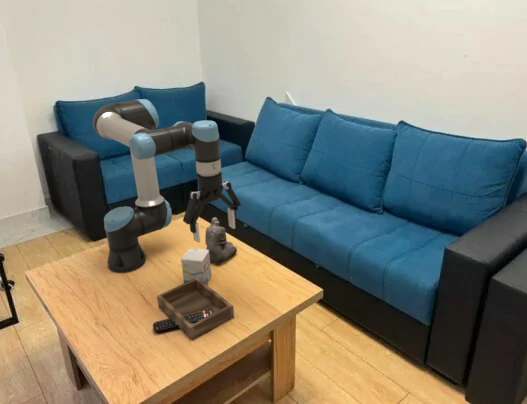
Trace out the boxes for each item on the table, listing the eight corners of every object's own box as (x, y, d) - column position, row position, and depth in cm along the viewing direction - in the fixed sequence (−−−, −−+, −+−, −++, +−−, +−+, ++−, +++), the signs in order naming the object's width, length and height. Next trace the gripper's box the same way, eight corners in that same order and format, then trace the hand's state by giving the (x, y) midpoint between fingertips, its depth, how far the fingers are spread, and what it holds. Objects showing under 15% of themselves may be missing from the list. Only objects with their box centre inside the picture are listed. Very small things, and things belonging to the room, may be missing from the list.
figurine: (235, 249, 186) (232, 211, 179) (240, 263, 176) (237, 223, 169) (204, 253, 184) (200, 215, 176) (208, 268, 173) (204, 228, 166)
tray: (158, 307, 151) (156, 295, 149) (198, 288, 161) (197, 277, 159) (191, 340, 135) (190, 328, 133) (234, 317, 145) (233, 305, 143)
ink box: (205, 288, 161) (202, 261, 156) (183, 286, 163) (180, 259, 158) (212, 275, 169) (209, 249, 164) (191, 273, 170) (188, 247, 166)
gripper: (179, 186, 122) (187, 251, 131) (249, 165, 136) (252, 225, 145) (166, 179, 128) (175, 242, 136) (235, 160, 142) (239, 218, 150)
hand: (215, 233), depth 140 cm, fingers open, 13 cm apart
